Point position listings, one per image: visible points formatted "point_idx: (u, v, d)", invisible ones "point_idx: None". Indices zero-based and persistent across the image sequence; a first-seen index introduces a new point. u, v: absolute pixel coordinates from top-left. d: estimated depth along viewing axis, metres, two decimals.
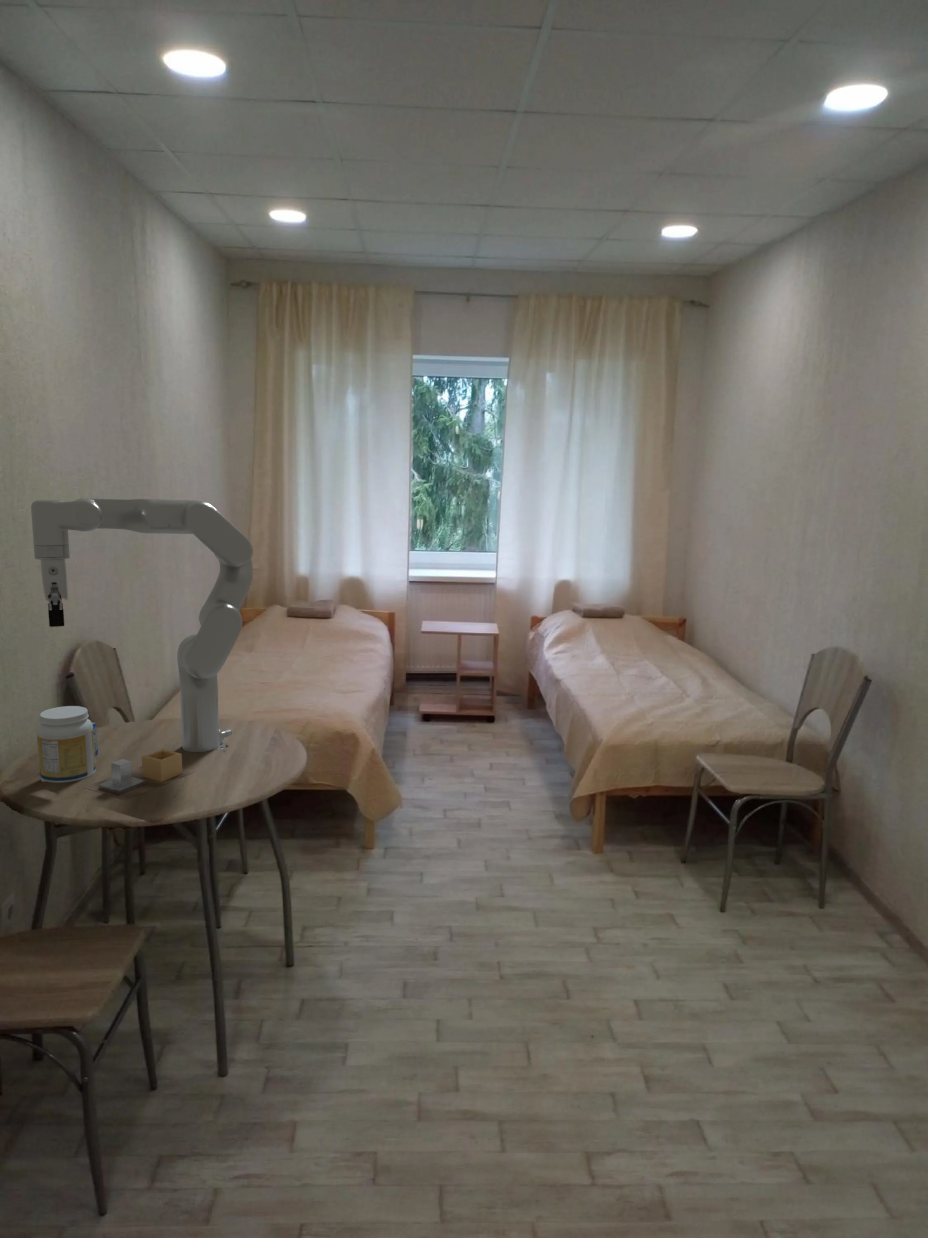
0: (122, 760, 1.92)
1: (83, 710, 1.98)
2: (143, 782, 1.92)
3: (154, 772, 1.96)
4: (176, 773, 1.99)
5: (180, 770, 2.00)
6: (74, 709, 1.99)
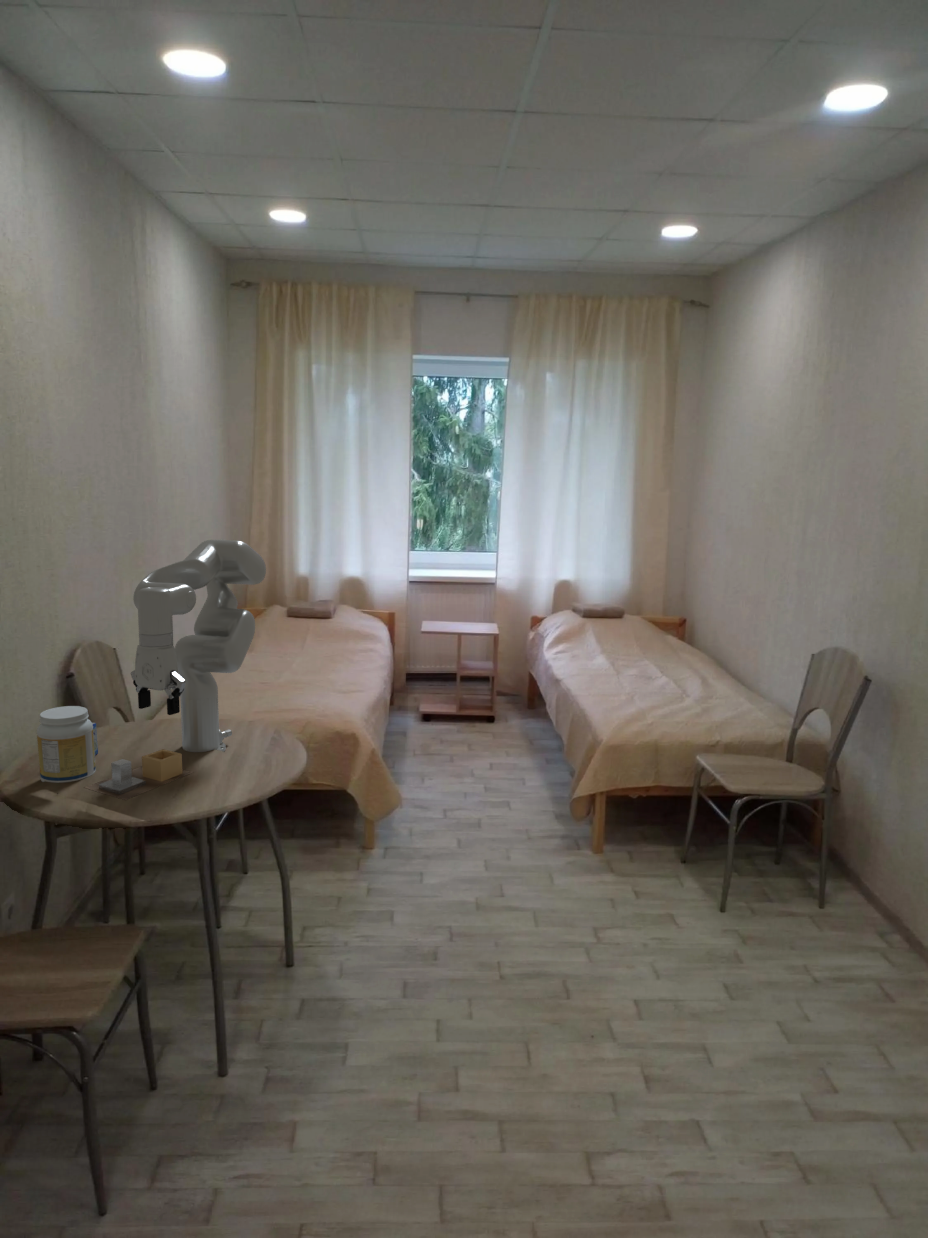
0: (122, 760, 1.92)
1: (83, 710, 1.98)
2: (143, 782, 1.92)
3: (154, 772, 1.96)
4: (176, 773, 1.99)
5: (180, 770, 2.00)
6: (74, 709, 1.99)
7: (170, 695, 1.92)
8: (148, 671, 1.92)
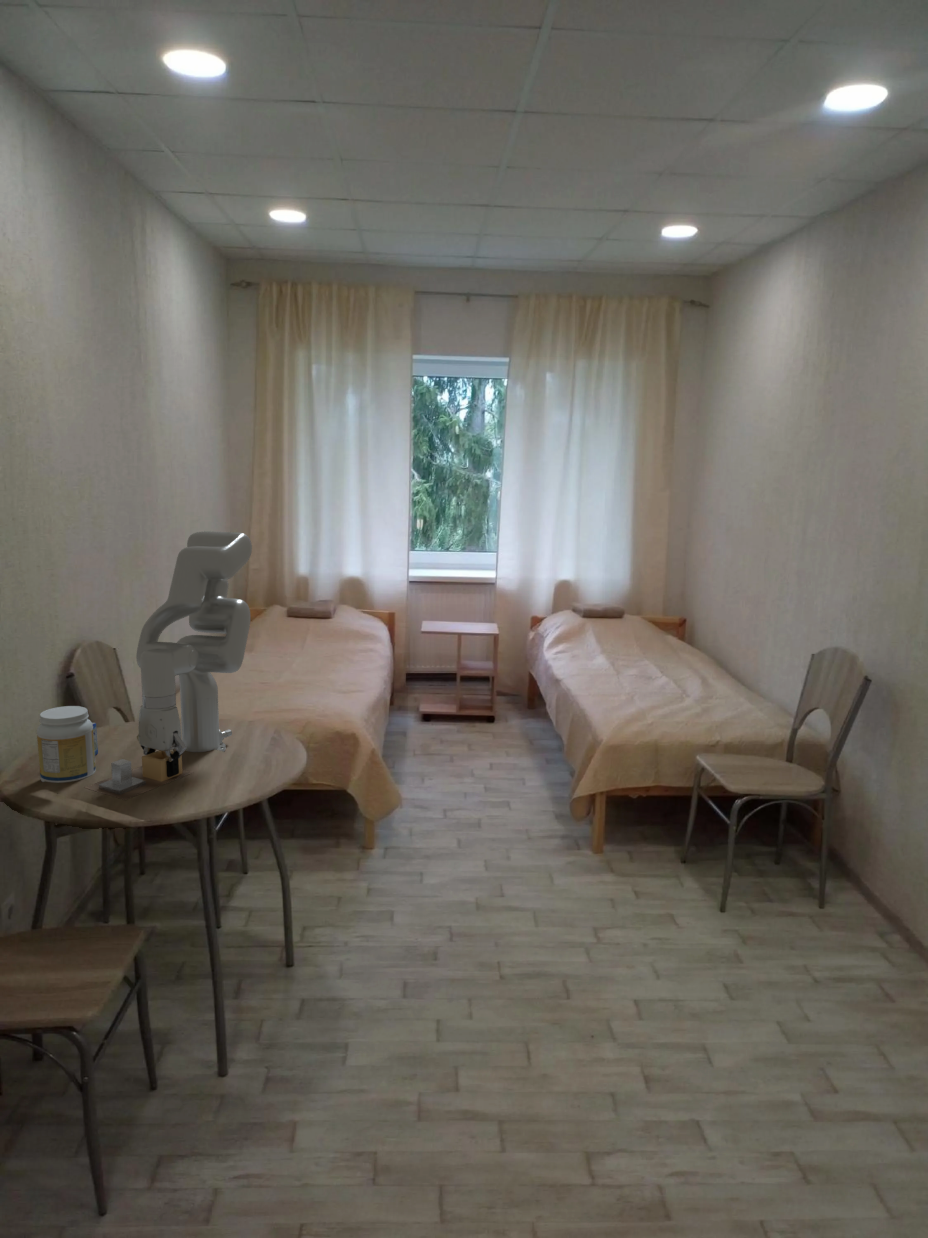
0: (122, 760, 1.92)
1: (83, 710, 1.98)
2: (143, 782, 1.92)
3: (154, 772, 1.96)
4: None
5: (180, 770, 2.00)
6: (74, 709, 1.99)
7: (170, 758, 1.95)
8: (151, 732, 1.95)
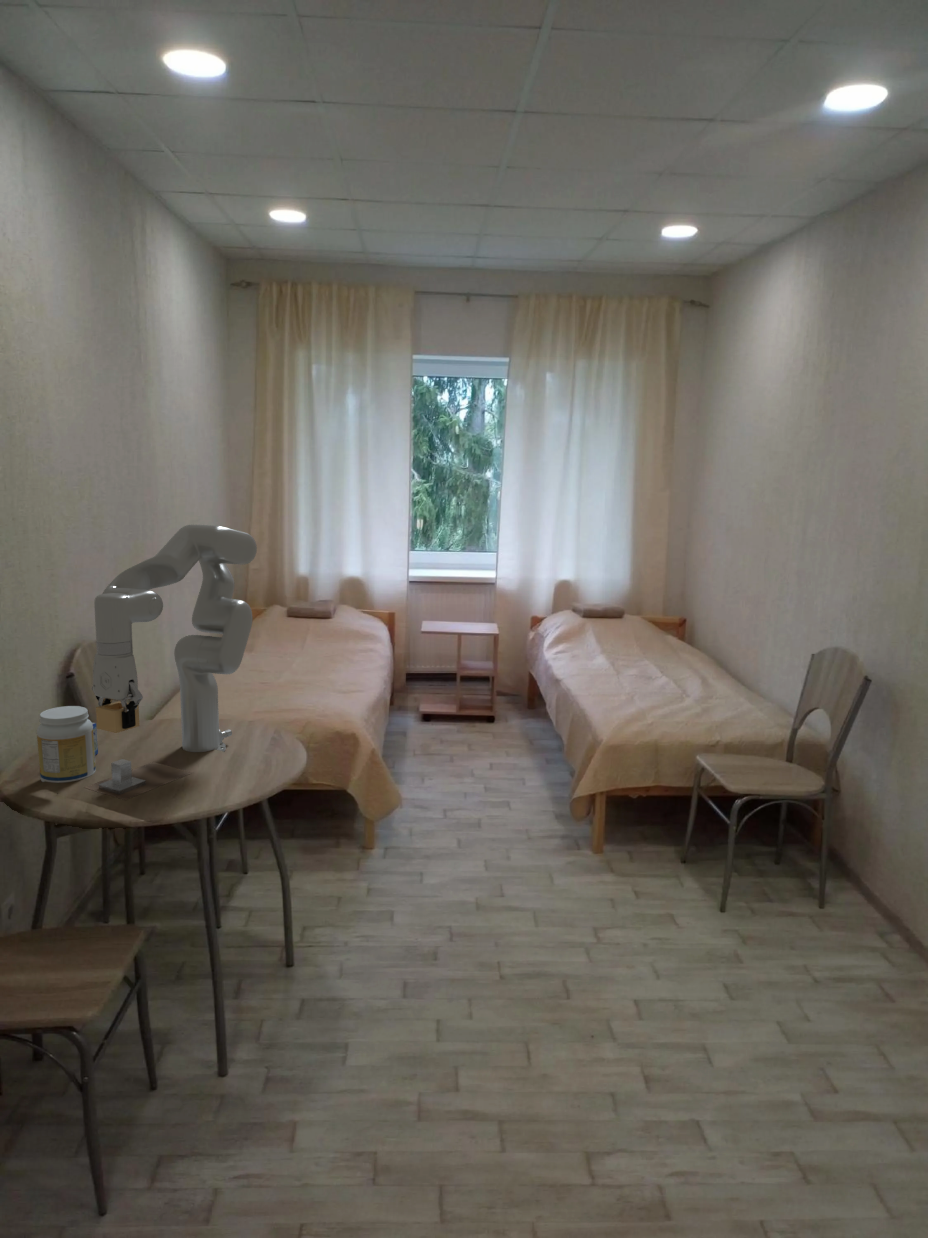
0: (122, 760, 1.92)
1: (83, 710, 1.98)
2: (143, 782, 1.92)
3: (108, 723, 1.85)
4: None
5: (137, 722, 1.89)
6: (74, 709, 1.99)
7: (125, 708, 1.85)
8: (106, 680, 1.84)
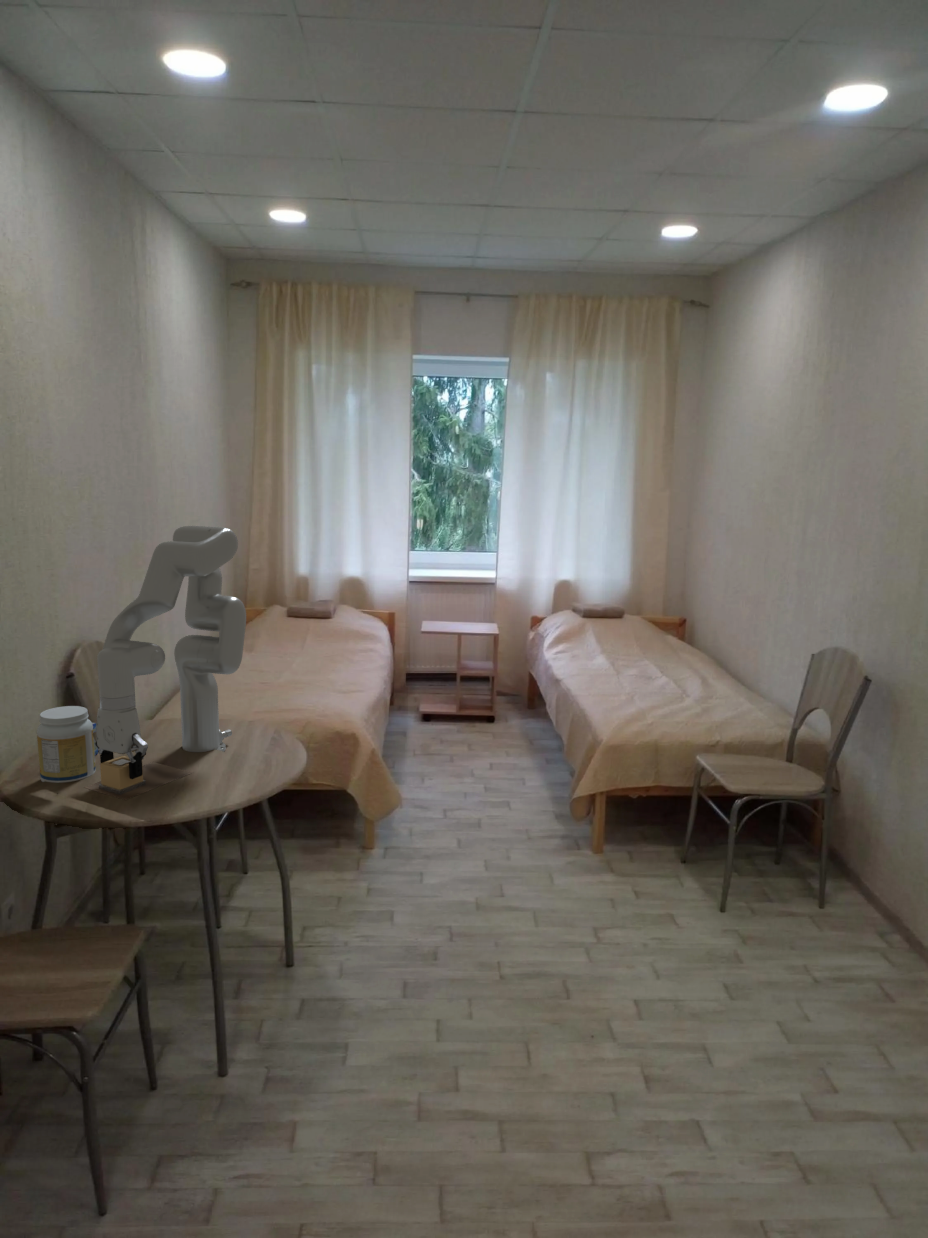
0: (122, 760, 1.92)
1: (83, 710, 1.98)
2: (143, 782, 1.92)
3: (112, 780, 1.88)
4: (136, 780, 1.91)
5: (141, 777, 1.92)
6: (74, 709, 1.99)
7: (132, 759, 1.87)
8: (109, 734, 1.87)
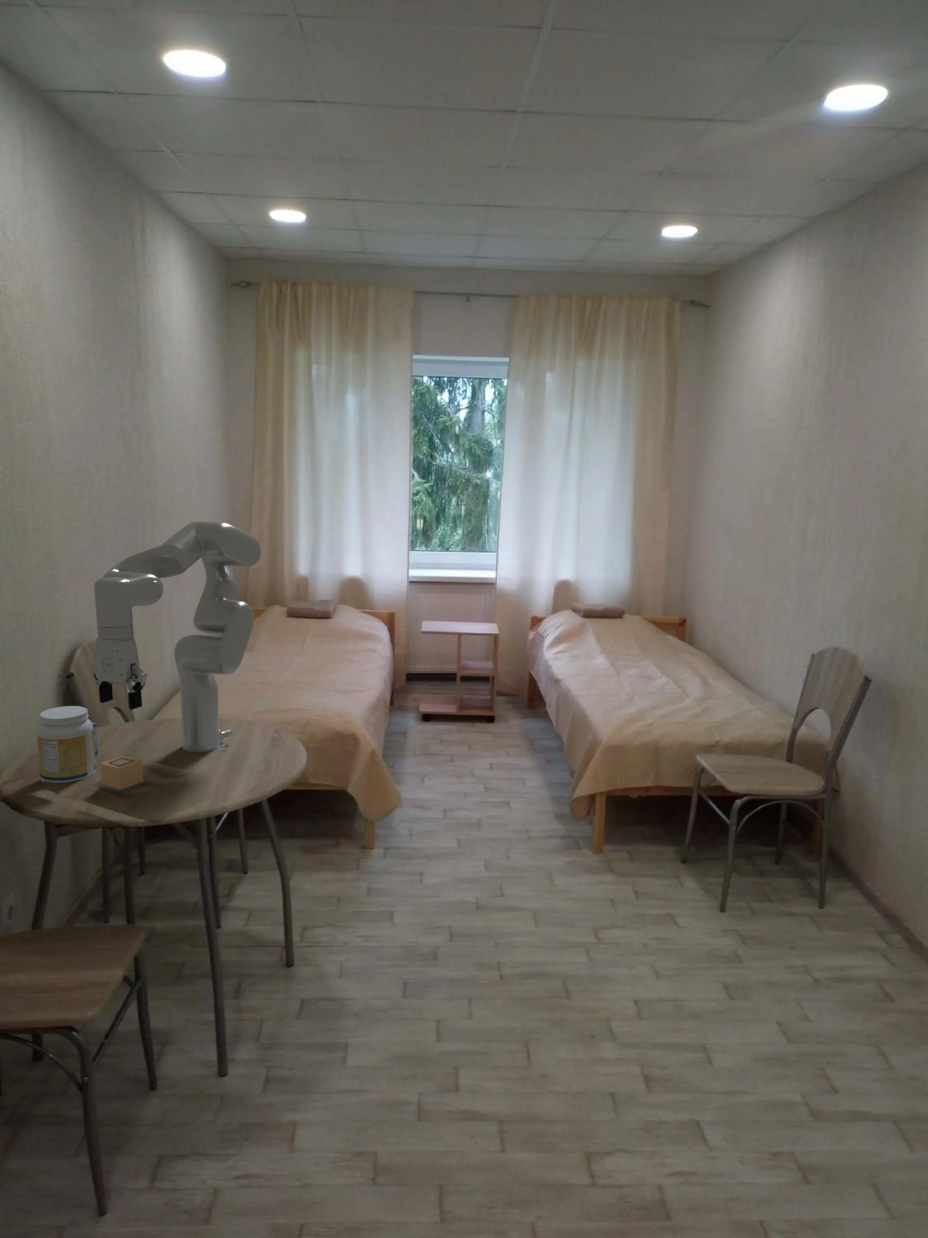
0: (122, 760, 1.92)
1: (83, 710, 1.98)
2: (143, 782, 1.92)
3: (112, 780, 1.88)
4: (136, 780, 1.91)
5: (141, 777, 1.92)
6: (74, 709, 1.99)
7: (131, 689, 1.85)
8: (108, 664, 1.85)
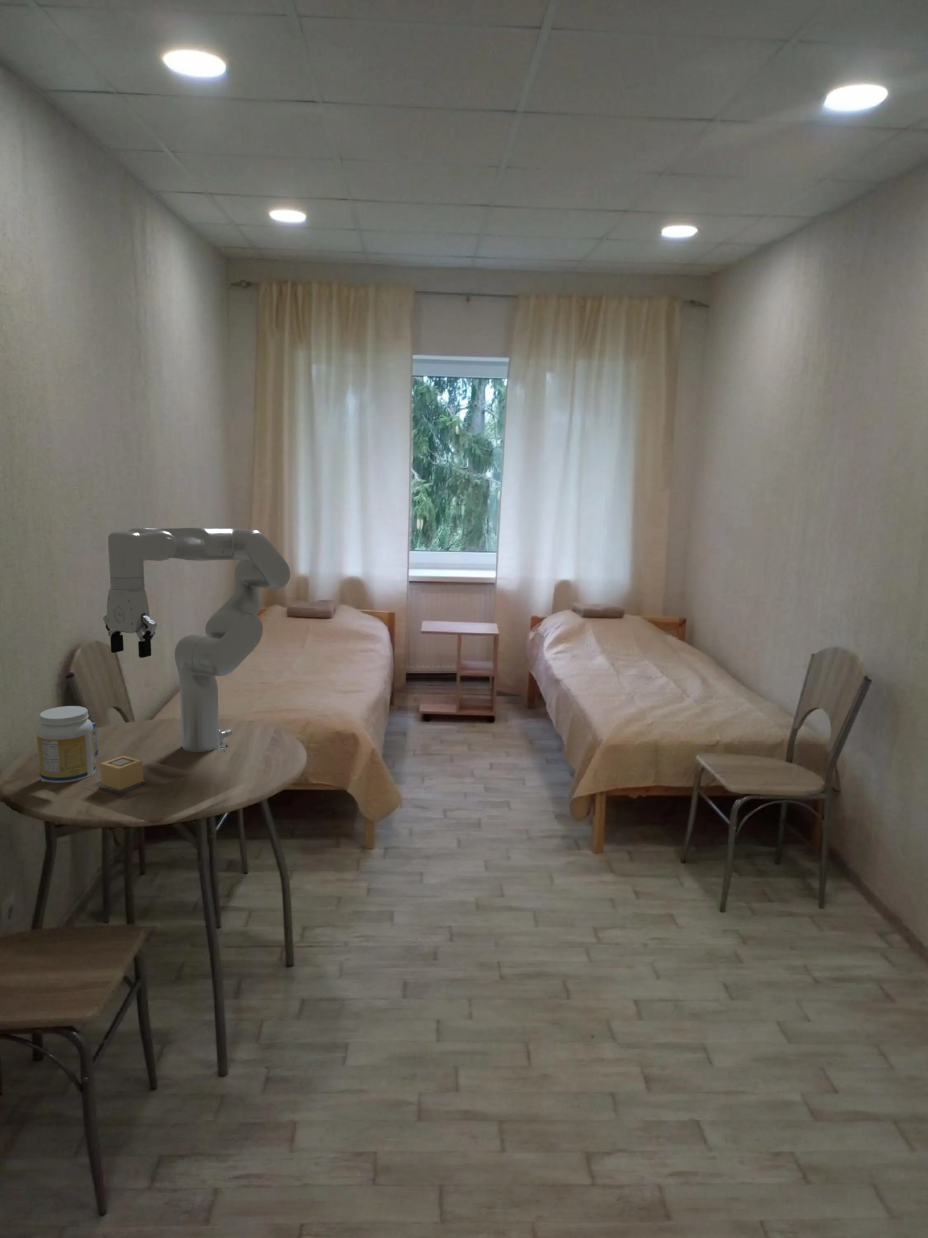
0: (122, 760, 1.92)
1: (83, 710, 1.98)
2: (143, 782, 1.92)
3: (112, 780, 1.88)
4: (136, 780, 1.91)
5: (141, 777, 1.92)
6: (74, 709, 1.99)
7: (141, 638, 1.94)
8: (119, 614, 1.94)
